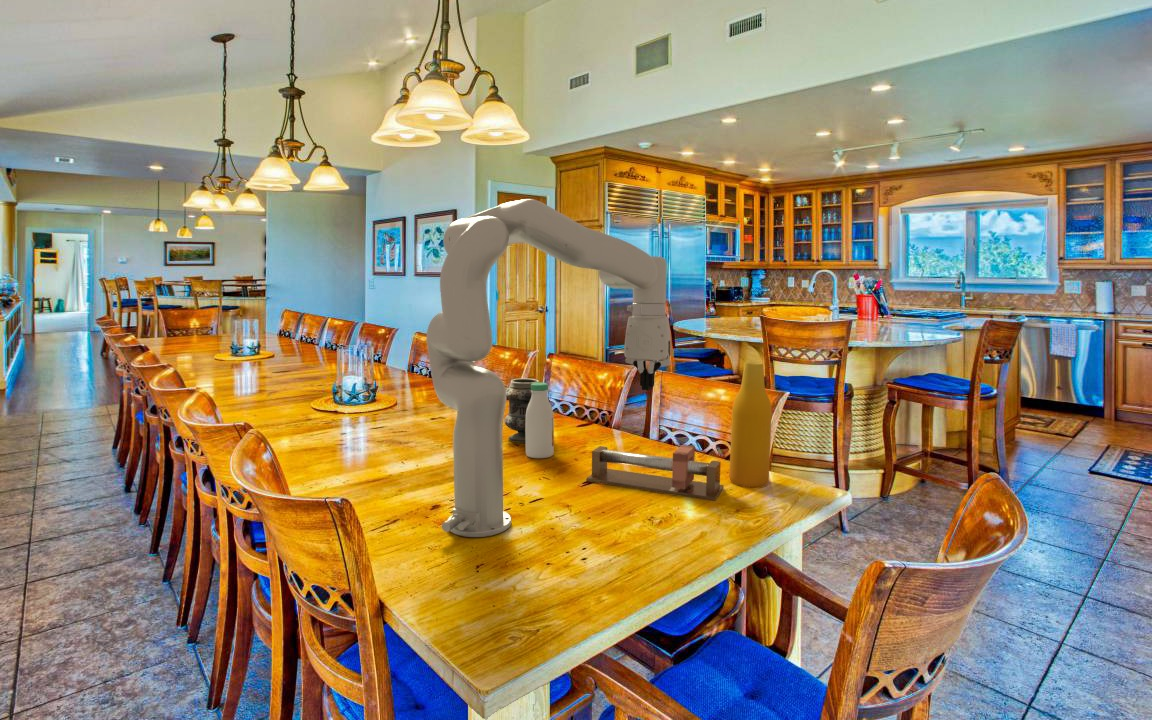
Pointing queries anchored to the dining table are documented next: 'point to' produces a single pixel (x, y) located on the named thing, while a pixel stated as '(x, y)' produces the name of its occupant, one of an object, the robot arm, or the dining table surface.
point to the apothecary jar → (518, 407)
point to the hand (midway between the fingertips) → (647, 389)
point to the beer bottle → (751, 430)
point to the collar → (682, 466)
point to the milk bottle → (539, 423)
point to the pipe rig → (653, 482)
